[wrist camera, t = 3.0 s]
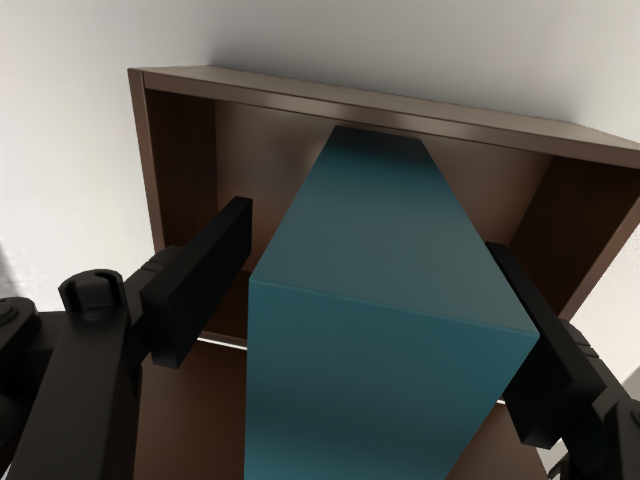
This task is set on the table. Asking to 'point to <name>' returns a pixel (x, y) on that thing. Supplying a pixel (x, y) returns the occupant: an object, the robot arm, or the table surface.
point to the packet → (375, 322)
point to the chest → (390, 118)
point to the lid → (229, 425)
